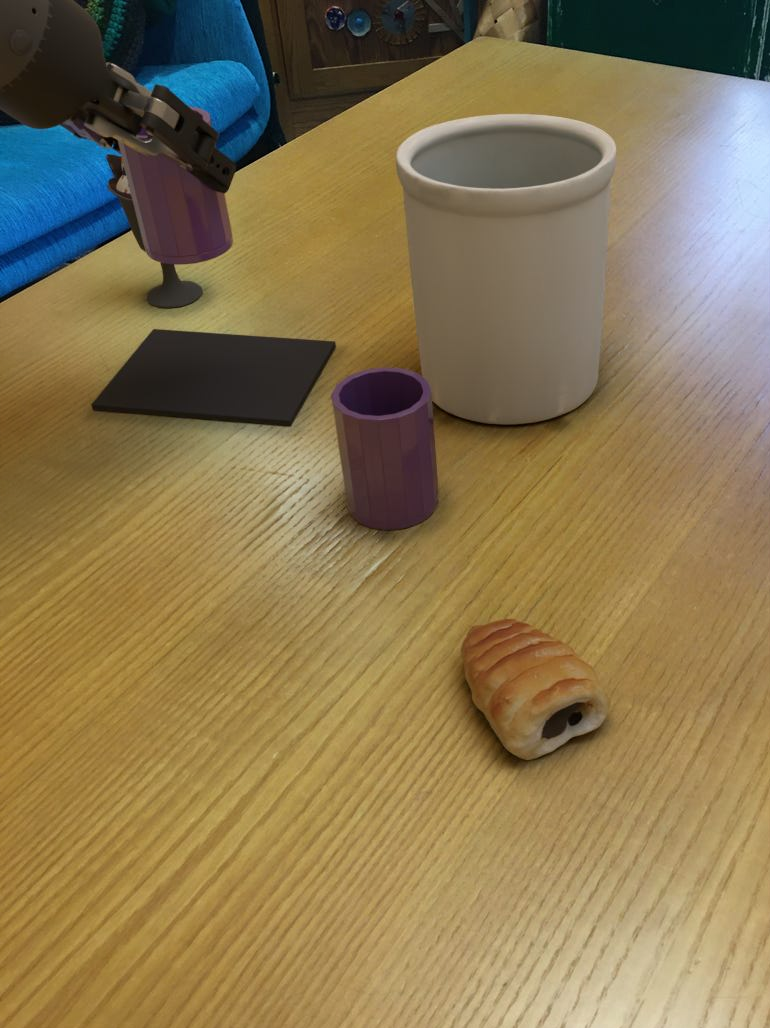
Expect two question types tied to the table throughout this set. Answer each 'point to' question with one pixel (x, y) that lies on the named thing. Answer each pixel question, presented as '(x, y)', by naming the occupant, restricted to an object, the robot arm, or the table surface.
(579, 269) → the utensil holder
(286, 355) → the mat
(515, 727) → the pastry
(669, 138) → the table surface
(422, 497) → the purple tumbler
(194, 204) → the purple cup
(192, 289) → the sundae
